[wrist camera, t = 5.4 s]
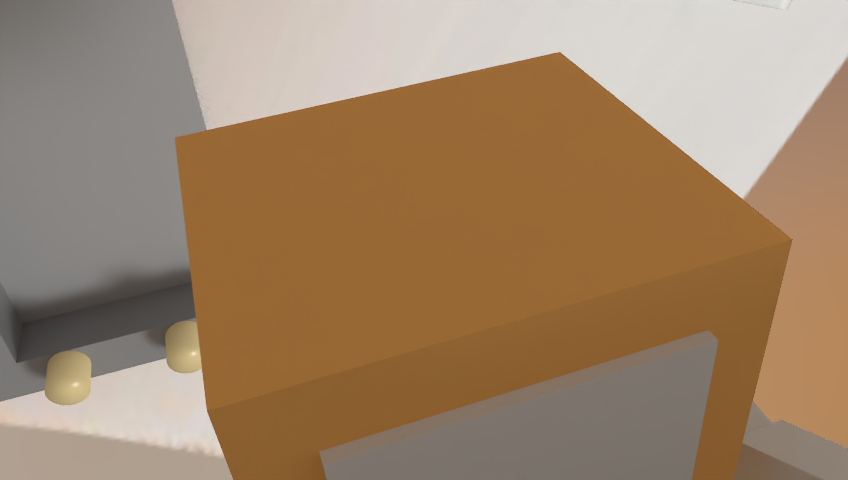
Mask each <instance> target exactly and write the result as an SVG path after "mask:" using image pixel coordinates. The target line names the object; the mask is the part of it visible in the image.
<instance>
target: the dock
mask: <svg viewBox="0 0 848 480" xmlns="http://www.w3.org/2000/svg"><path fill="white" fill-rule="evenodd" d="M202 131H206V127H205V124H204V120H203V116H202V112H201V109H200V105H199V101H198V98H197V94H196V90H195V86H194V83H193V79H192V75H191V71H190V68H189V64H188V60H187V57H186V53H185V49H184V45H183V42H182V38H181V34H180V31H179V27H178V23H177V19H176V16H175V12H174V8H173V4H172V1H171V0H0V402H1V401H4V400H8V399H12V398H16V397H20V396H23V395H27V394H31V393H35V392H39V391H43V390H45V395H46V397H47V398H48V399H49V400H50V401H52V402H54V403H56V404H60V405H72V404H76V403H79V402H81V401H83V400H84V399H85V398H87V396H88V395H89V393H90V386H91V378H92V377H96V376H100V375H103V374H107V373H111V372H115V371H119V370H123V369H126V368H130V367H134V366H138V365H142V364H145V363H149V362H153V361H157V360H161V359H164V358H167V364H168V366H169V367H170V368H171V369H172V370H174V371H176V372H179V373H192V372H195V371H198V370H200V369H201V368H202V364H201V356H200V347H199V339H198V330H197V322H196V314H195V305H194V297H193V288H192V280H191V272H190V263H189V255H188V246H187V238H186V230H185V221H184V213H183V204H182V196H181V188H180V179H179V171H178V162H177V154H176V146H175V137H179V136H184V135H188V134H193V133H197V132H202Z"/></svg>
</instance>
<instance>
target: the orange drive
mask: <svg viewBox="0 0 848 480" xmlns="http://www.w3.org/2000/svg"><path fill="white" fill-rule="evenodd" d="M175 146H176V154H177V162H178V171H179V179H180V188H181V196H182V204H183V213H184V221H185V230H186V238H187V246H188V255H189V263H190V272H191V280H192V288H193V297H194V305H195V314H196V322H197V330H198V339H199V347H200V356H201V364H202V372H203V381H204V389H205V398H206V406H207V412H208V415H209V417H210V420H211V422H212V425H213V428H214V430H215V433H216V435H217V438H218V441H219V443H220V446H221V448H222V451H223V454H224V456H225V459H226V461H227V464H228V467H229V469H230V472H231V474H232V477H233V480H733V479H734V475H735V471H736V466H737V462H738V458H739V454H740V450H741V446H742V442H743V438H744V434H745V430H746V426H747V422H748V418H749V414H750V410H751V406H752V401H753V397H754V393H755V389H756V385H757V381H758V377H759V373H760V369H761V364H762V361H763V357H764V353H765V349H766V345H767V341H768V336H769V332H770V328H771V324H772V320H773V316H774V312H775V308H776V304H777V300H778V296H779V292H780V287H781V284H782V280H783V275H784V271H785V267H786V263H787V259H788V255H789V251H790V247H791V243H792V239H791V238H790V237H789V236H787V235H786V234H785V233H784V232H782V231H781V230H780V229H779V228H777V227H776V226H775V225H774V224H773V223H771V222H770V221H769V220H768V219H766V218H765V217H764V216H763V215H761V214H760V213H759V212H757V211H756V210H755V209H754V208H753V207H751V206H750V205H749V204H748V203H746V202H745V201H744V200H743V199H742V198H740V197H739V196H738V195H737V194H735V193H734V192H733V191H732V190H730V189H729V188H728V187H727V186H725V185H724V184H723V183H722V182H720V181H719V180H718V179H717V178H715V177H714V176H713V175H712V174H710V173H709V172H708V171H707V170H706V169H704V168H703V167H702V166H701V165H699V164H698V163H697V162H696V161H694V160H693V159H692V158H691V157H689V156H688V155H687V154H686V153H684V152H683V151H682V150H681V149H679V148H678V147H677V146H676V145H674V144H673V143H672V142H671V141H670V140H668V139H667V138H666V137H665V136H663V135H662V134H661V133H660V132H658V131H657V130H656V129H655V128H653V127H652V126H651V125H650V124H648V123H647V122H646V121H645V120H643V119H642V118H641V117H640V116H639V115H637V114H636V113H635V112H634V111H632V110H631V109H630V108H629V107H627V106H626V105H625V104H624V103H622V102H621V101H620V100H619V99H617V98H616V97H615V96H614V95H612V94H611V93H610V92H609V91H607V90H606V89H605V88H604V87H603V86H601V85H600V84H599V83H598V82H596V81H595V80H594V79H593V78H591V77H590V76H589V75H588V74H586V73H585V72H584V71H583V70H581V69H580V68H579V67H578V66H576V65H575V64H574V63H573V62H571V61H570V60H569V59H568V58H567V57H565V56H564V55H563V54H562V53H560V52H558V53H554V54H549V55H545V56H540V57H536V58H531V59H527V60H522V61H518V62H513V63H508V64H504V65H499V66H495V67H490V68H486V69H481V70H477V71H472V72H468V73H463V74H459V75H454V76H450V77H445V78H441V79H436V80H432V81H427V82H423V83H418V84H414V85H409V86H405V87H400V88H396V89H391V90H387V91H382V92H378V93H373V94H369V95H364V96H360V97H355V98H351V99H346V100H342V101H337V102H333V103H328V104H324V105H319V106H315V107H310V108H306V109H301V110H297V111H292V112H288V113H283V114H279V115H274V116H270V117H265V118H261V119H256V120H252V121H247V122H243V123H238V124H234V125H229V126H225V127H220V128H216V129H211V130H206V131H202V132H197V133H193V134H188V135H184V136H179V137H175Z"/></svg>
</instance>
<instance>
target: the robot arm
mask: <svg viewBox="0 0 848 480" xmlns="http://www.w3.org/2000/svg"><path fill="white" fill-rule="evenodd" d="M733 480H848V448H846V447H843V446H841V445H839V444H837V443H834V442H832V441H830V440H827V439H825V438H823V437H820V436H818V435H815V434H813V433H811V432H808V431H806V430H804V429H801V428H799V427H797V426H794V425H792V424H790V423H787V422H785V421H783V420H779V421H775V422H771V421H770V419H769V418H768V417H767V416H766V415H765V414H764V413H763V412H762V411H761V410H760V409H759V407H758V406H757V405H756V404H755V403H754V402H753V401H752V406H751V410H750V414H749V418H748V422H747V426H746V430H745V434H744V438H743V442H742V446H741V450H740V454H739V458H738V462H737V466H736V471H735V475H734V479H733Z"/></svg>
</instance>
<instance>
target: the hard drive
mask: <svg viewBox="0 0 848 480" xmlns="http://www.w3.org/2000/svg"><path fill="white" fill-rule="evenodd" d="M734 1H740V2H745V3H750V4H756V5H761V6H766V7H771V8H776V9H782V10H788V9H789V6H790V4H791V2H792V0H734Z"/></svg>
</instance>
